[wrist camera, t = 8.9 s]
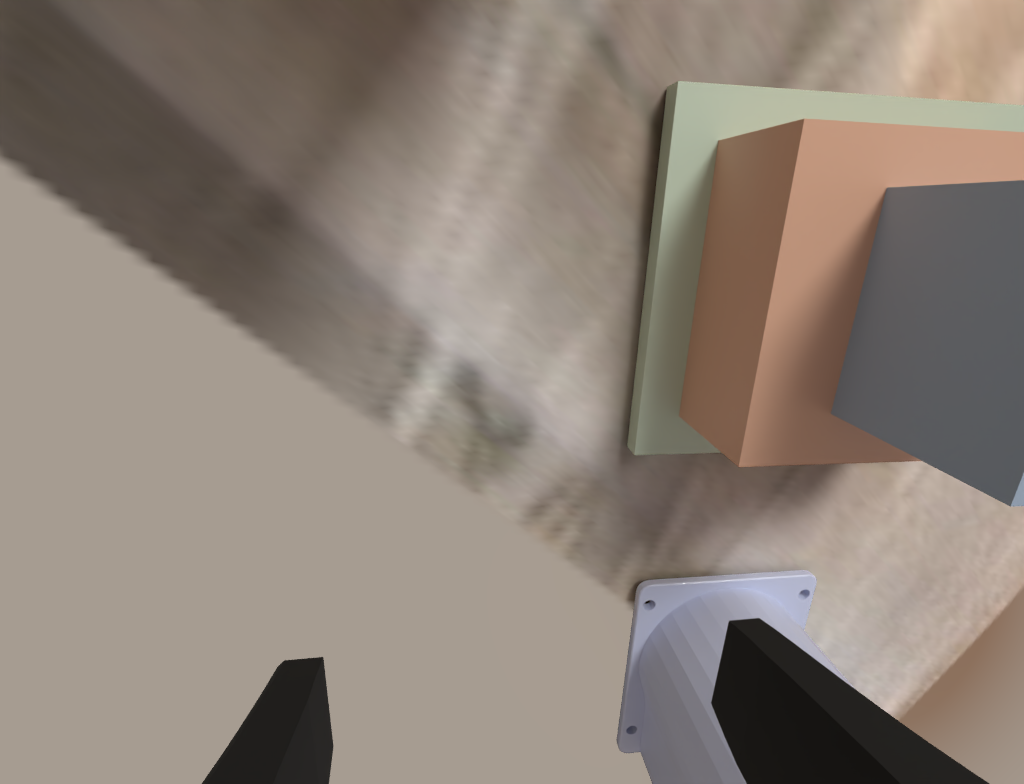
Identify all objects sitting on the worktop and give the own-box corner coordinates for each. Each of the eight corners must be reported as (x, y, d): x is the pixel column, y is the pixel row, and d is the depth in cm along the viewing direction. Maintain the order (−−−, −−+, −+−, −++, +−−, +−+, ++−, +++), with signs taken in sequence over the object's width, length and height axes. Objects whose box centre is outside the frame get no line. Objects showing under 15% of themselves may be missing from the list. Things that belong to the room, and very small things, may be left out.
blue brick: (953, 412, 15) (1178, 499, 11) (830, 413, 15) (1010, 506, 10) (1025, 194, 14) (1336, 185, 9) (886, 187, 13) (1140, 173, 8)
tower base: (908, 438, 21) (1033, 498, 17) (627, 446, 20) (682, 514, 15) (1006, 110, 18) (1201, 75, 13) (667, 87, 16) (756, 38, 12)
